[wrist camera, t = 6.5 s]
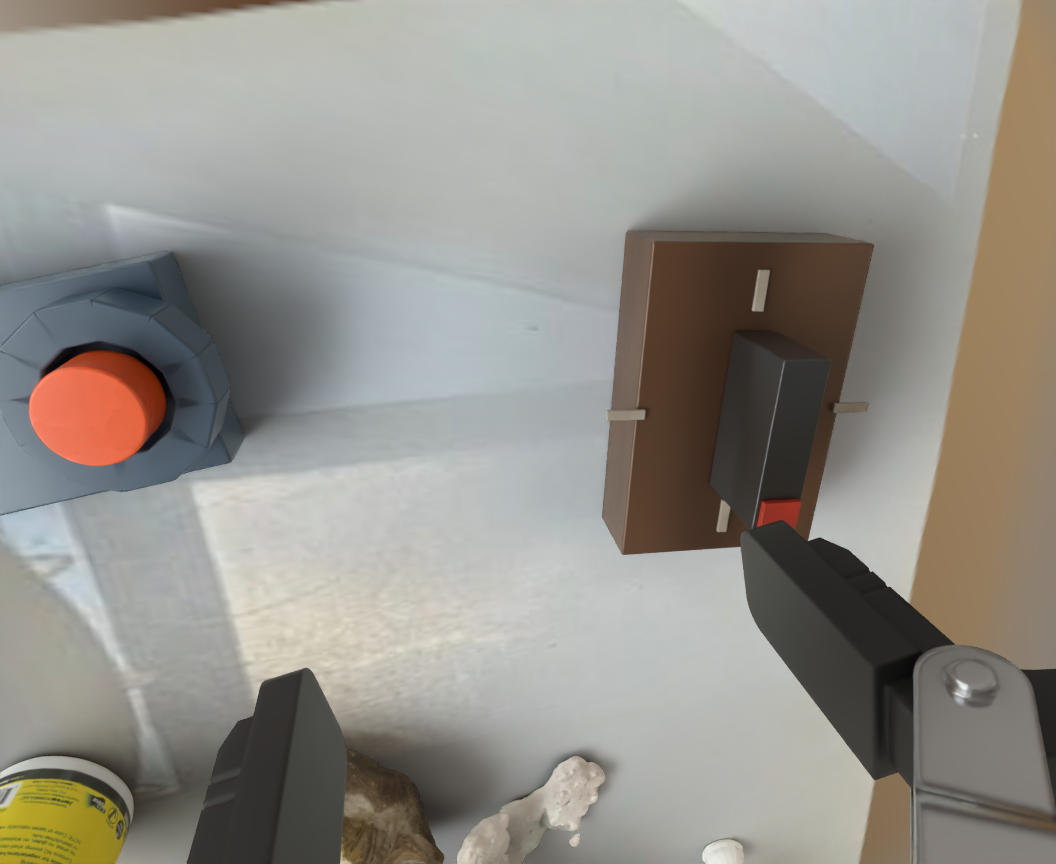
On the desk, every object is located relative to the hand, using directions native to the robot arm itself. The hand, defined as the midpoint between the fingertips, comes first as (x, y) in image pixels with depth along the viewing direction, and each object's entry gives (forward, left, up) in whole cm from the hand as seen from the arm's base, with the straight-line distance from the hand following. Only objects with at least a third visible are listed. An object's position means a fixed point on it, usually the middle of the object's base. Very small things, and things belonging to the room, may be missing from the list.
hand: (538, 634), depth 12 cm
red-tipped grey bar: (-10, +1, -12) cm, 15 cm away
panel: (-10, +1, -15) cm, 18 cm away
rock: (-3, +28, -15) cm, 32 cm away
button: (+11, -1, -11) cm, 16 cm away
